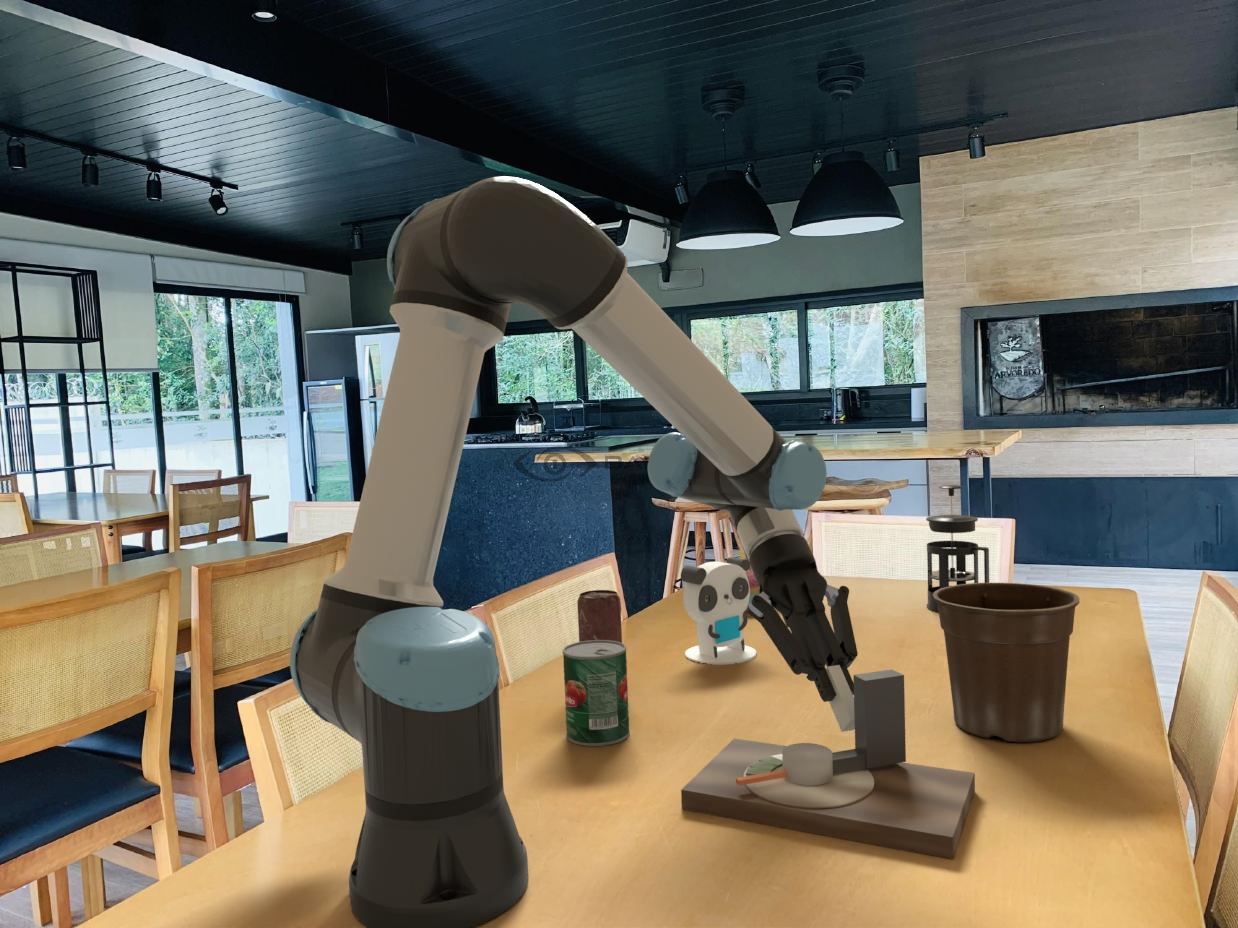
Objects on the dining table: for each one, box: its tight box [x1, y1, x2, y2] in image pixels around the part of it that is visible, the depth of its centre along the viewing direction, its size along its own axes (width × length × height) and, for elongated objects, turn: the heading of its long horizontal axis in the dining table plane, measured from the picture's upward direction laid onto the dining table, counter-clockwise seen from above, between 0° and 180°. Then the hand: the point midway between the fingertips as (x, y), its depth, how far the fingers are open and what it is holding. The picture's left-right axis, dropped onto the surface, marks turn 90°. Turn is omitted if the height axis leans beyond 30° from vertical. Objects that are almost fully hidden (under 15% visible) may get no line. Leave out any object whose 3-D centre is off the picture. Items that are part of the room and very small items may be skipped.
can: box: [576, 589, 623, 643], centre depth 132 cm, size 6×6×14 cm
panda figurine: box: [680, 556, 757, 666], centre depth 148 cm, size 12×11×15 cm
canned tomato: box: [562, 640, 631, 747], centre depth 115 cm, size 8×8×11 cm
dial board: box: [680, 738, 976, 860], centre depth 94 cm, size 15×26×2 cm, turn 62°
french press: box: [925, 484, 990, 613], centre depth 171 cm, size 12×9×23 cm
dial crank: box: [736, 668, 907, 786], centre depth 94 cm, size 19×5×9 cm, turn 107°
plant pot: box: [933, 582, 1080, 743], centre depth 112 cm, size 16×16×16 cm
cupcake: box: [738, 546, 760, 612], centre depth 179 cm, size 9×8×12 cm
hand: (852, 724), depth 100 cm, fingers closed
